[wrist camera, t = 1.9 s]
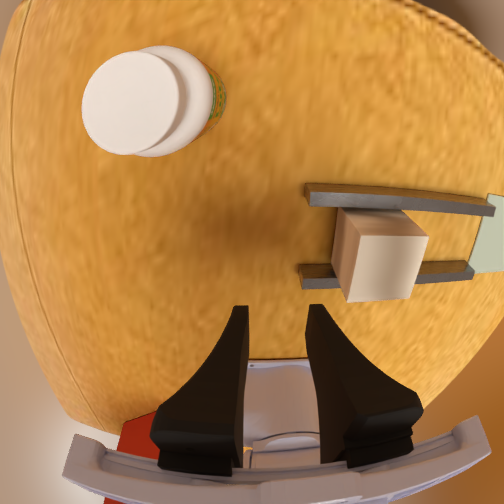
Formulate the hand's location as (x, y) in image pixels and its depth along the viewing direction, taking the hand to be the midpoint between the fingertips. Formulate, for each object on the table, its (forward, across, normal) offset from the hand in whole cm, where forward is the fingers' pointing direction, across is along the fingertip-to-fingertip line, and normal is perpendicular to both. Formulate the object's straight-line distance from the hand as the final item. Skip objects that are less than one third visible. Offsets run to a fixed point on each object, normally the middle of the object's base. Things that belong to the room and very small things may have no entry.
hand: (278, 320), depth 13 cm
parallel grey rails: (+9, -12, 0) cm, 15 cm away
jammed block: (+9, -8, 0) cm, 12 cm away
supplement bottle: (+10, +6, -10) cm, 15 cm away
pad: (+9, -25, 0) cm, 27 cm away
